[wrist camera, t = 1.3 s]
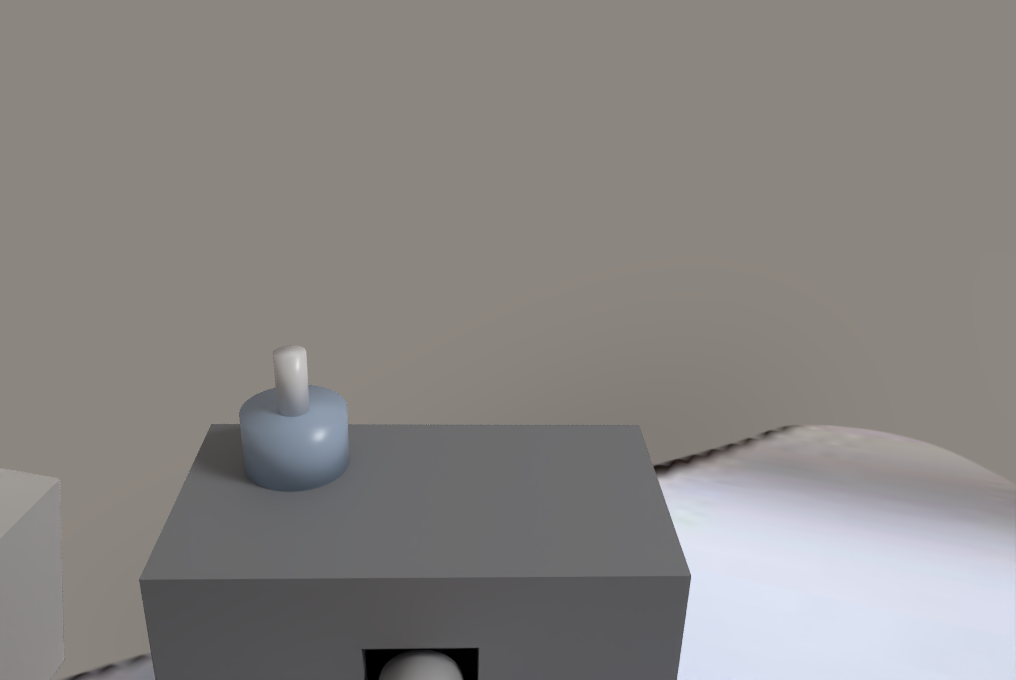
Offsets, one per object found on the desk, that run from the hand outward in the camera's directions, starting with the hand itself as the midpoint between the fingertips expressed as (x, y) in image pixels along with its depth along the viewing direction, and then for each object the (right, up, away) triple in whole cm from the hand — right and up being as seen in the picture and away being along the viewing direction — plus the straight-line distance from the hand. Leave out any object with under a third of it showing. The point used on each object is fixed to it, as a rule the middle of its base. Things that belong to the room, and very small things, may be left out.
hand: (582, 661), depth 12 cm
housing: (-5, -14, +30) cm, 34 cm away
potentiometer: (-9, -1, +26) cm, 27 cm away
